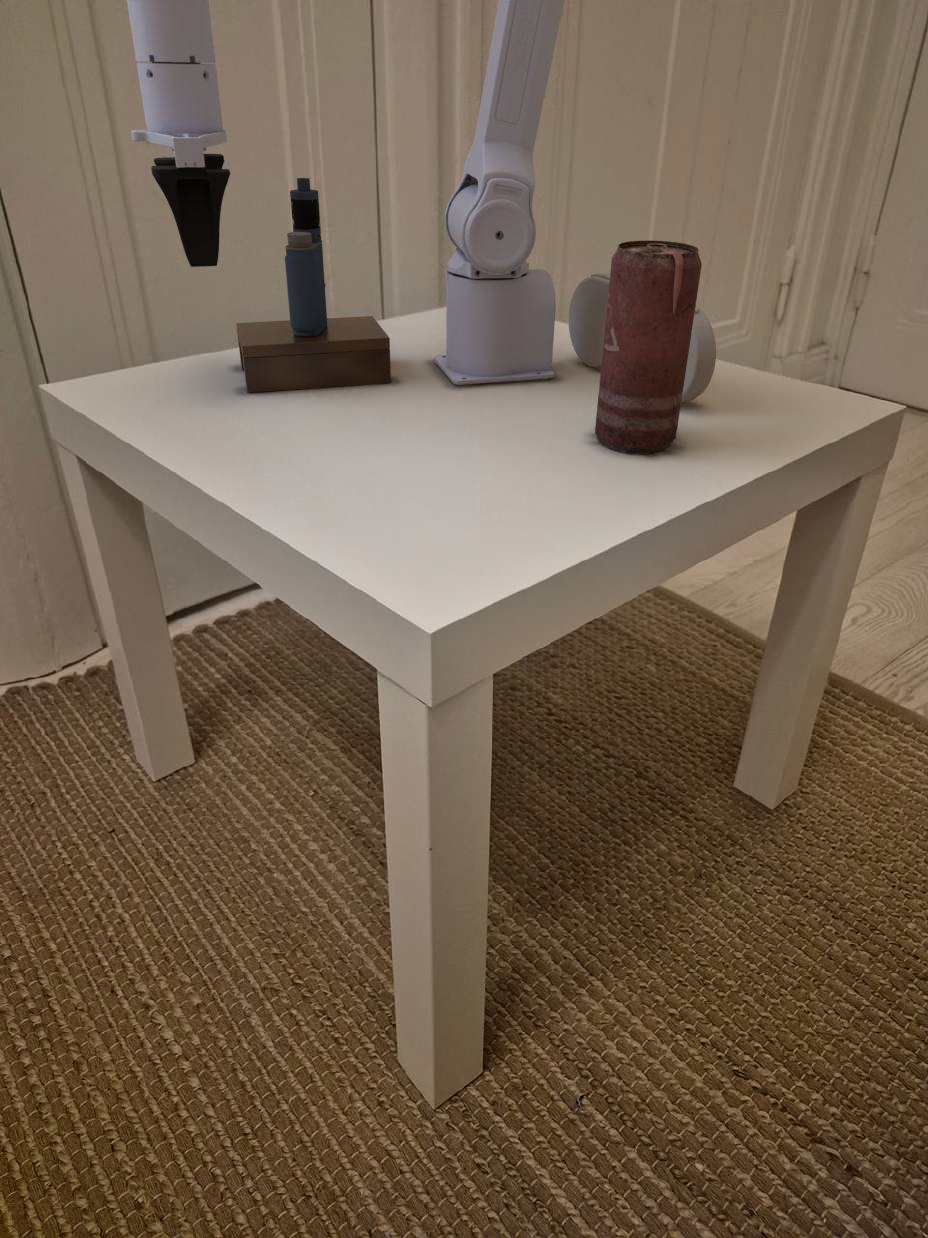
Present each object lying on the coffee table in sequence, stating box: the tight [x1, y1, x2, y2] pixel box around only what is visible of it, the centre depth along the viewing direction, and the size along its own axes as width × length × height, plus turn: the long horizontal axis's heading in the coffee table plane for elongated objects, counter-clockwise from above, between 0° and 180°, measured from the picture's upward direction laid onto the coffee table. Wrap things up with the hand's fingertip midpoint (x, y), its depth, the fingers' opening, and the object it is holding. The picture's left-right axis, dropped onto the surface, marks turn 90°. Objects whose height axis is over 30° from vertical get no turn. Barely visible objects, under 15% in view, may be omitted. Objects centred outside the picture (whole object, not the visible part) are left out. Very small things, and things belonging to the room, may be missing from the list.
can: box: [594, 239, 703, 455], centre depth 64 cm, size 6×6×14 cm
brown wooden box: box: [235, 315, 392, 394], centre depth 80 cm, size 13×8×4 cm, turn 106°
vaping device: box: [284, 177, 328, 337], centre depth 76 cm, size 3×5×12 cm, turn 174°
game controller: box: [568, 272, 717, 403], centre depth 79 cm, size 20×2×8 cm, turn 26°
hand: (202, 256), depth 74 cm, fingers open, 7 cm apart
